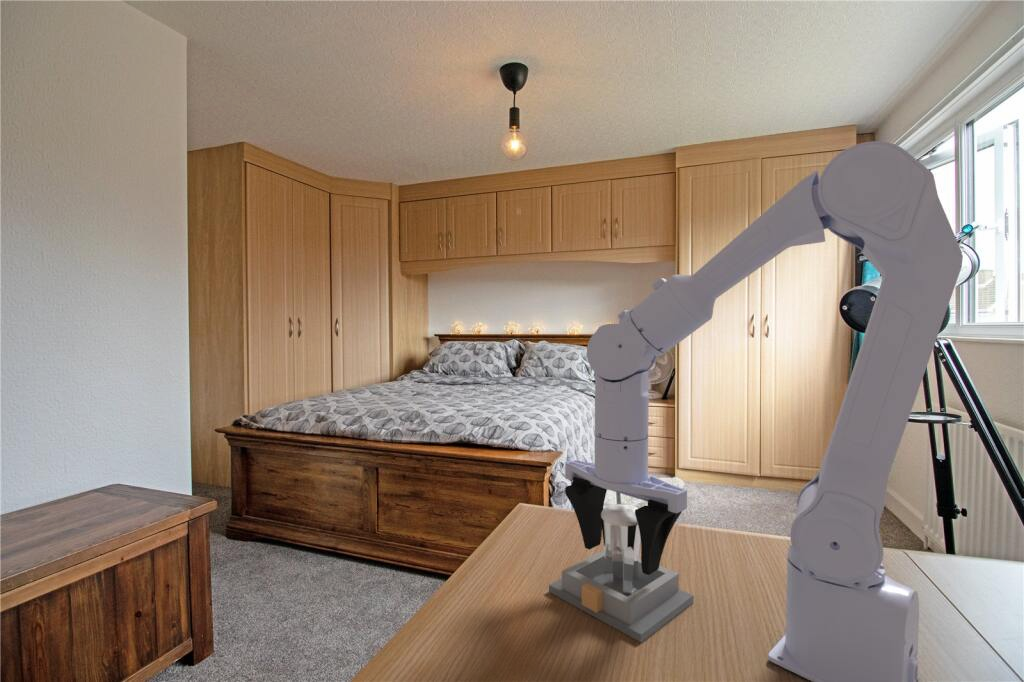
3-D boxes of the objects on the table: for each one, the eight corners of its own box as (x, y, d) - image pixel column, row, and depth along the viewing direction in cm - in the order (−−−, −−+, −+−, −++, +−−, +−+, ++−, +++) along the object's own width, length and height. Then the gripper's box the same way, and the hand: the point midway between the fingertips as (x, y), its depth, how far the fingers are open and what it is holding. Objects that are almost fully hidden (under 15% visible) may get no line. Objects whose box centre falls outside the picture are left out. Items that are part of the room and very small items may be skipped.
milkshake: (637, 573, 58) (638, 489, 58) (645, 599, 53) (646, 506, 53) (598, 572, 59) (598, 488, 58) (602, 597, 54) (603, 505, 53)
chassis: (693, 602, 54) (693, 577, 54) (639, 644, 47) (639, 615, 47) (603, 562, 63) (603, 540, 63) (547, 592, 56) (547, 568, 56)
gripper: (702, 441, 52) (700, 569, 52) (591, 420, 62) (591, 527, 63) (666, 453, 47) (664, 594, 47) (553, 428, 58) (552, 544, 58)
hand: (620, 557), depth 55 cm, fingers open, 7 cm apart
